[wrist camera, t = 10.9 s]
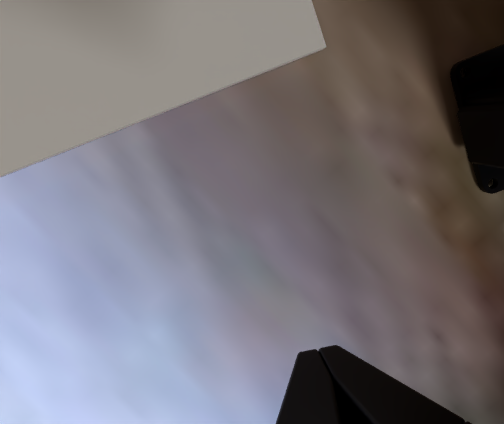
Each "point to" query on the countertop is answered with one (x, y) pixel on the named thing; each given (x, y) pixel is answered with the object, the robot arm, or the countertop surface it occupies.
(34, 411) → the countertop surface
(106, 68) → the base board
